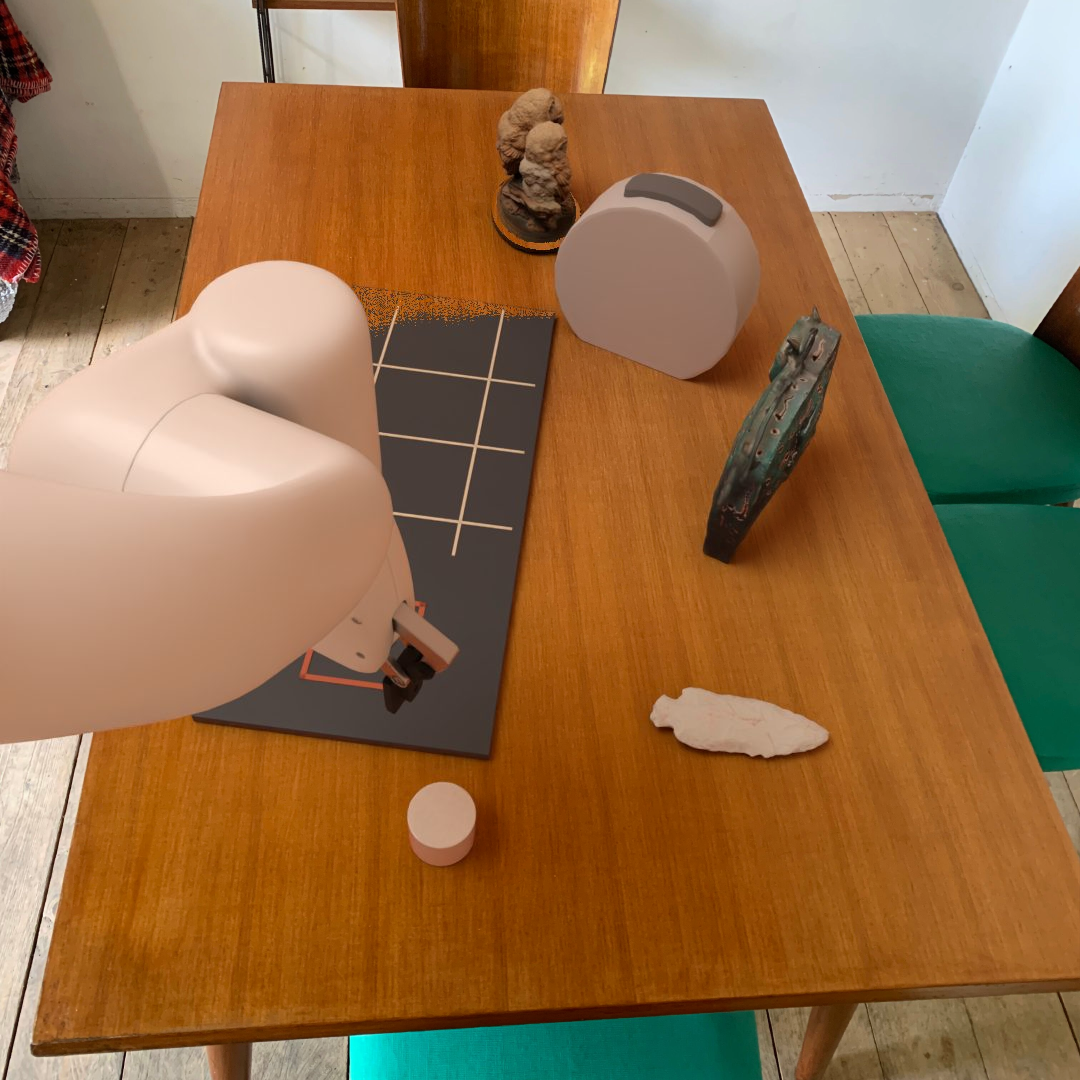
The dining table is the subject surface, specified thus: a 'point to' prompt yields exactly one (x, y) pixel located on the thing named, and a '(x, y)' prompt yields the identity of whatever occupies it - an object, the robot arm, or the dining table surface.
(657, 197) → the alarm clock
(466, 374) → the board
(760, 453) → the ceramic cat
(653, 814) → the dining table surface
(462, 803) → the white cylinder
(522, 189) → the owl figurine
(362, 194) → the dining table surface
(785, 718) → the stone tool
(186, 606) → the robot arm
